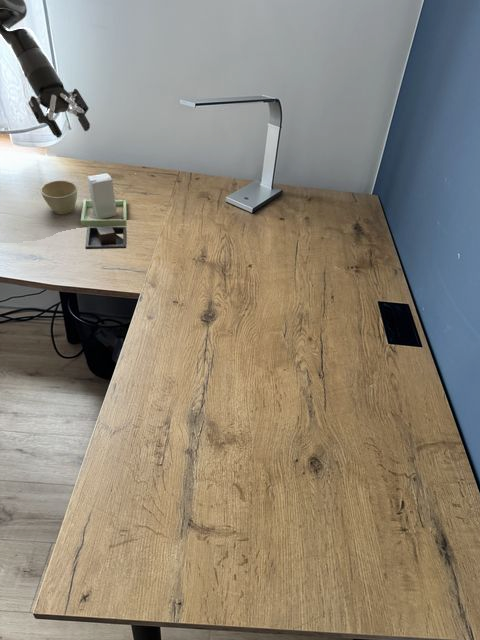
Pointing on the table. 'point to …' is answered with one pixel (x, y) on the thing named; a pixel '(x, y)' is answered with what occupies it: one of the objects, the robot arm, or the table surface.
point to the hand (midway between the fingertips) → (74, 132)
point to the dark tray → (94, 244)
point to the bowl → (60, 196)
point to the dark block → (106, 235)
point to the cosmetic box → (102, 196)
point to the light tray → (90, 222)
